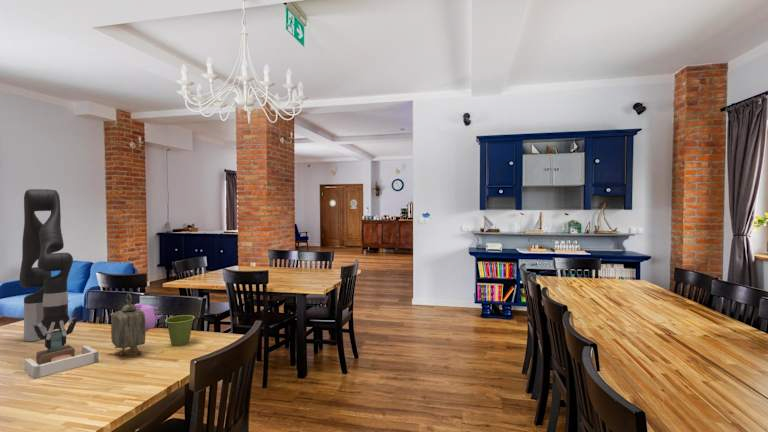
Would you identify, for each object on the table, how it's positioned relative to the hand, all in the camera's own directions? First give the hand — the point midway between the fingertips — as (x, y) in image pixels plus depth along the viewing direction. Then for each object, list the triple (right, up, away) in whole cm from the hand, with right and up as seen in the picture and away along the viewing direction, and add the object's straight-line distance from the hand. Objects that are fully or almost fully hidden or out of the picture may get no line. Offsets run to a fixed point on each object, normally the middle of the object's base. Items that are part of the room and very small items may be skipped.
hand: (55, 346), depth 151 cm
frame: (+7, -6, -5) cm, 10 cm away
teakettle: (+4, -6, +44) cm, 44 cm away
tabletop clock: (+23, -6, +8) cm, 25 cm away
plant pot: (+38, -6, +21) cm, 44 cm away
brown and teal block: (0, -5, 0) cm, 5 cm away
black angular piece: (+13, -6, +20) cm, 25 cm away
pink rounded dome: (+5, -6, -4) cm, 9 cm away
